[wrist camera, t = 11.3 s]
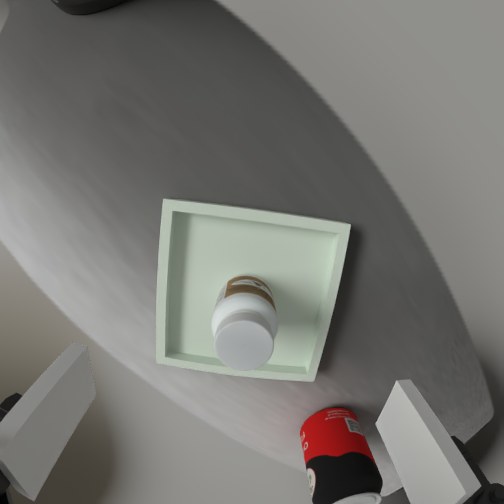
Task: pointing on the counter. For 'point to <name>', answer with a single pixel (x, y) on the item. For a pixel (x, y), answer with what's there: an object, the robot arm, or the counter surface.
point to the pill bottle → (244, 323)
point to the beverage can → (339, 459)
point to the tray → (246, 262)
